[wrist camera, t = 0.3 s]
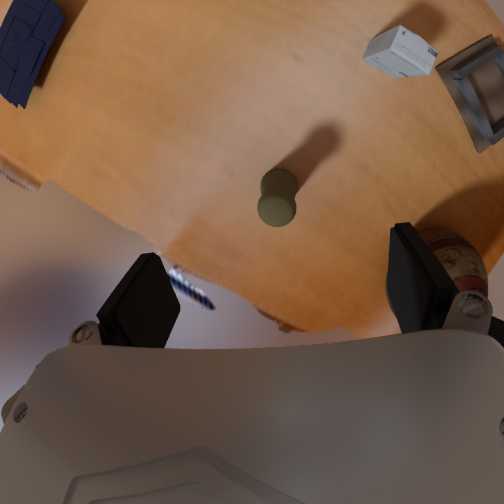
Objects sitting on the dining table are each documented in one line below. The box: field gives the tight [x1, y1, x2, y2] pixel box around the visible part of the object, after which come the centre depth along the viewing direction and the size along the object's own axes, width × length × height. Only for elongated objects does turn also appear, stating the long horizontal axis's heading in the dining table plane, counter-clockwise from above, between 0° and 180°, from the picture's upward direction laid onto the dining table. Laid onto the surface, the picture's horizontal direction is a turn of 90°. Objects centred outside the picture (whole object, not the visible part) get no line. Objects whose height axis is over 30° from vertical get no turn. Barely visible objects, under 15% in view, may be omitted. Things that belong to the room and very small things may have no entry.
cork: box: [257, 169, 298, 227], centre depth 41 cm, size 6×6×11 cm
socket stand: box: [435, 36, 504, 153], centre depth 29 cm, size 17×17×4 cm
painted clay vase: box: [385, 228, 488, 318], centre depth 37 cm, size 20×20×30 cm
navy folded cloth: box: [0, 0, 66, 109], centre depth 31 cm, size 24×30×4 cm
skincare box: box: [363, 25, 439, 78], centre depth 27 cm, size 6×4×12 cm
